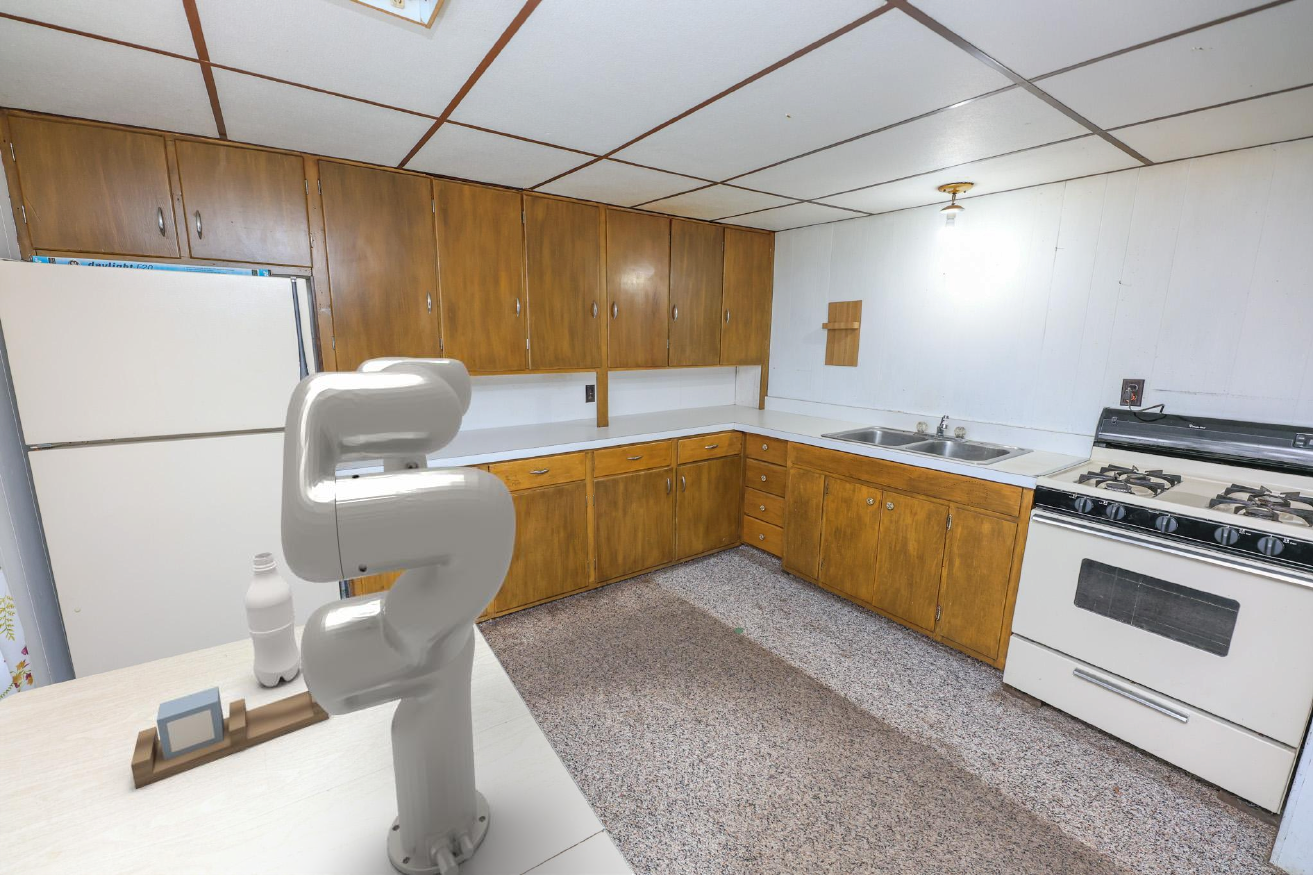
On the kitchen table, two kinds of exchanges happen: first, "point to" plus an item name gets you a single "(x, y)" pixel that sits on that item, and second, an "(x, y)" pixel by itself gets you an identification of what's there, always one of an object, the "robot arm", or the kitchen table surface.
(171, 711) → the blue-grey rectangular block
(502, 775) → the kitchen table surface
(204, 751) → the wooden divided rack
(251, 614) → the water bottle
